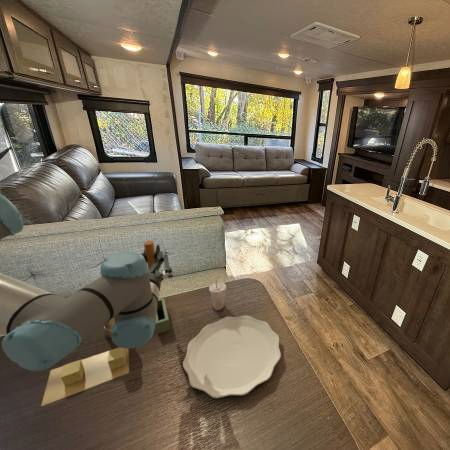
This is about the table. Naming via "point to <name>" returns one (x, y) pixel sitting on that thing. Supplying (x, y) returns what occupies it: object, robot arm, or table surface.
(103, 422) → the table surface
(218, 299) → the smoothie
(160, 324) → the green rectangular holder
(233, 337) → the plate
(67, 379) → the butter left
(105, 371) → the cutting board
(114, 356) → the butter right
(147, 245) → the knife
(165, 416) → the table surface
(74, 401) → the table surface
